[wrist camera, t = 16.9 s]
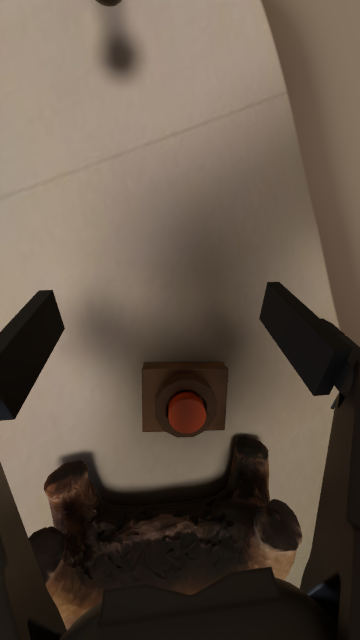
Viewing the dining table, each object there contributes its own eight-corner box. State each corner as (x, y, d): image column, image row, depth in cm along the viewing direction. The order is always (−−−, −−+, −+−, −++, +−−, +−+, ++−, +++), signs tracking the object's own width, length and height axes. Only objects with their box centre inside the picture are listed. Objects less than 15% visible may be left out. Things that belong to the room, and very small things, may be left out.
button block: (223, 361, 30) (232, 375, 26) (220, 419, 31) (228, 440, 27) (143, 362, 29) (140, 375, 25) (144, 421, 30) (141, 442, 26)
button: (204, 390, 26) (207, 398, 24) (203, 423, 27) (205, 433, 25) (168, 391, 26) (168, 399, 24) (167, 424, 27) (168, 434, 25)
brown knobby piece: (-61, 628, 16) (34, 761, 24) (341, 526, 20) (311, 668, 28) (25, 465, 28) (70, 588, 36) (266, 421, 32) (259, 541, 40)
